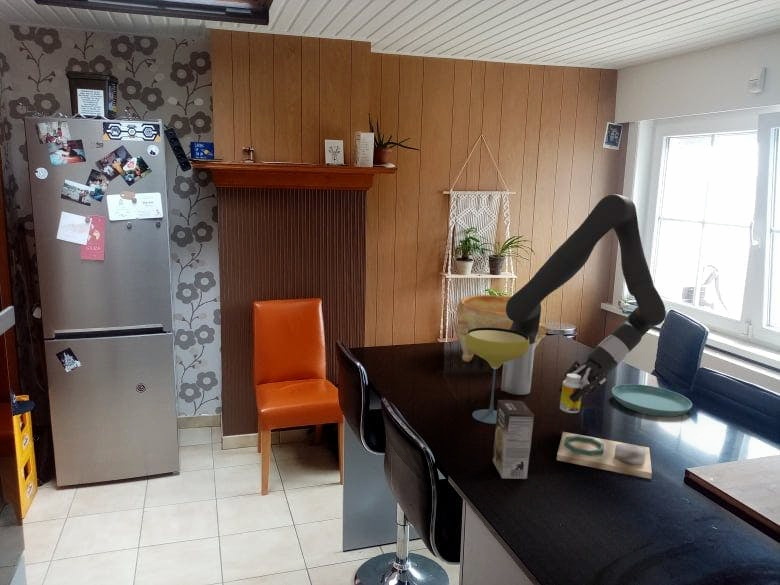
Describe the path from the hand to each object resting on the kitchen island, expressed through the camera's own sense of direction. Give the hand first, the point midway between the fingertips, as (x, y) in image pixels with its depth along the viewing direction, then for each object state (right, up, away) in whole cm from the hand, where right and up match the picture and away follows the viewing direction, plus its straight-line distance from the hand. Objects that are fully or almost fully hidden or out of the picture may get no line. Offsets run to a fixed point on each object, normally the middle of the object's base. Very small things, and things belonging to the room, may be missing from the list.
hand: (565, 395), depth 171 cm
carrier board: (+6, -13, -14) cm, 20 cm away
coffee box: (-21, -14, -25) cm, 35 cm away
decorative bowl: (-10, +3, +71) cm, 72 cm away
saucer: (+35, -8, +27) cm, 45 cm away
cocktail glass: (-20, -8, +9) cm, 23 cm away
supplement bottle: (+1, -4, +1) cm, 5 cm away
